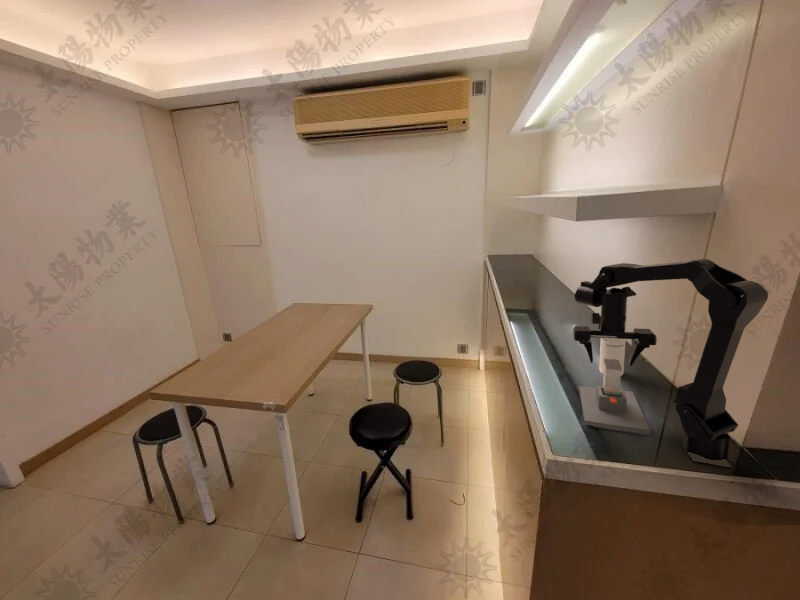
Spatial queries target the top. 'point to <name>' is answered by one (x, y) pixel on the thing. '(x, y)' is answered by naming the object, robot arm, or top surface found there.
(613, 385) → the grey-brown stepped block
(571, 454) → the top surface
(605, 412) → the jack stand base
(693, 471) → the top surface
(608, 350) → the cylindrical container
